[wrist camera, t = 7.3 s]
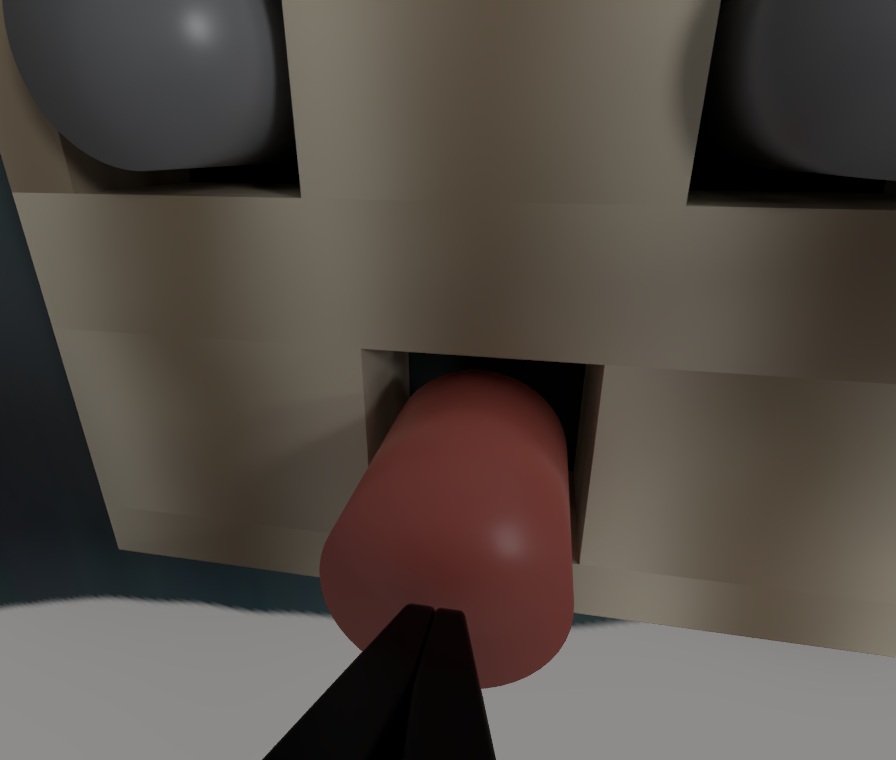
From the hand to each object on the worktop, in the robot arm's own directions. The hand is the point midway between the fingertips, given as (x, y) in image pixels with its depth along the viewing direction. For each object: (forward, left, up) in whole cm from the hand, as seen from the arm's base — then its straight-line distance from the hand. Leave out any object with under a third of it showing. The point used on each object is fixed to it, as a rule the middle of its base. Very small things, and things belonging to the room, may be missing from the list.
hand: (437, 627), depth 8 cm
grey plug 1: (+6, -8, -8) cm, 13 cm away
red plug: (0, 0, -5) cm, 5 cm away
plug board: (0, -4, -9) cm, 9 cm away
